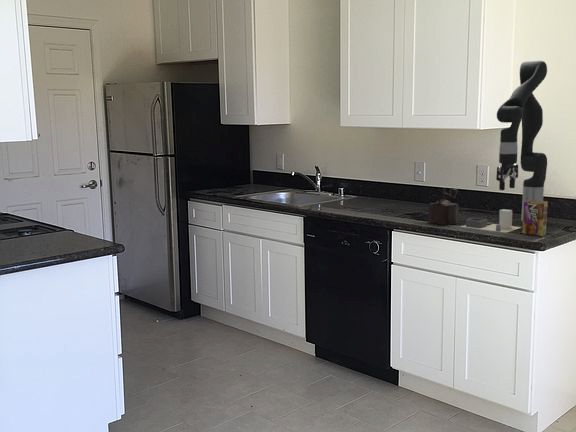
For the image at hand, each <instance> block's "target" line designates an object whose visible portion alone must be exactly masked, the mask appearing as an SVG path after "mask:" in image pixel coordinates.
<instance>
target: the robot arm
mask: <svg viewBox="0 0 576 432" xmlns="http://www.w3.org/2000/svg"><path fill="white" fill-rule="evenodd" d="M547 74H548V65H547V63H546V61H544V60H528V61H523V62H522V63H521V64H520V66H519V82H520V85H519V86H518V87H516V88H514V90H513V92H512V93H511V95H510V97H509V98H508V99H507V100H506V101H505V102H504V103H502V104H501V105H500V106H499V108H498V109H497V112H496V119H497V120H498V121H499V123H502V124H503V123H505V124H506V123H507V124H508V123H511V124H510V126H509V127H505V128H502V129H501V130H500V141H499V142H500V143H499V152H498V162H499V164H501V166H497V167H496V177H495V178H496V181H498V182H499V185H498V187H499V191H505V190H506V179H507V178H509V183H508V184H509V188H510V189H515V188H516V179H518V178H519V164H517V163H518V146H519V145H518V132H519V129H520V125H521V148H520V149H521V150H520V167H521V170H522V171H523V172H527V173H529V172H531V173H532V176H531V177H529V178H527V179H524V180H523V182H522V199H521V200H522V201H521V205H522V206H521V219H520V220H521V222H522V223H523V211H524V201H525V200H536V201H544V195H545V194H544V193H545V192H544V191H545V190H544V188H545V187H544V186H545V183H546V178H547V169H548V157H547V155H546V154H545V153H543V152H533V151H534V150H533V146H534V142H535V139H536V138H537V136H538V134H539V132H540V130H542V129H541V128H542V127H543V121H544V120H543V119H544V118H543V117H544V114H543V113H544V112H543V108H542V105H541V104H540V103H539V101H538V99H537V98H536V97H535V95H534V91H535V90H536V89H537V88H538V87H539V86H540V84H541V83H542V82H543V81H544V80H545V78H546V76H547Z"/></svg>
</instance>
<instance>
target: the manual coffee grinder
mask: <svg viewBox="0 0 576 432" xmlns="http://www.w3.org/2000/svg"><path fill="white" fill-rule="evenodd" d="M446 190H447V189H446V188H443V189H442V199H439V200H437V201H436V202H429V203H428V219H427V223H428V224H433V225H440V226H449V225H456V224H458V223H459V206H460V205H459V203H454V202H453V203H452V202H451V201H450V200H448V199H446V196H448V197H449V198H451V199H456V195H457V194H458V193H459V189H457V188H456V187H451V188H450V189H449V193H447V191H446Z"/></svg>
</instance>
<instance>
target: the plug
mask: <svg viewBox="0 0 576 432" xmlns="http://www.w3.org/2000/svg"><path fill="white" fill-rule="evenodd" d="M498 213H499V214H498V219H499V223H498V225H501V228H503V229H510V228H512V226H513V209H504V208H503V209H499V210H498Z"/></svg>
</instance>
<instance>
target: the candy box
mask: <svg viewBox="0 0 576 432" xmlns="http://www.w3.org/2000/svg"><path fill="white" fill-rule="evenodd" d="M548 203H549V202H548V201H545V200H543V201H536V200H525V201H524V211H523V222H522V234H525V235H526V234H527V235H532V236H539V238H541V239H542V238H545V237H546V236H547V219H548V206H549V205H548ZM540 236H541V237H540Z"/></svg>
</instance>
